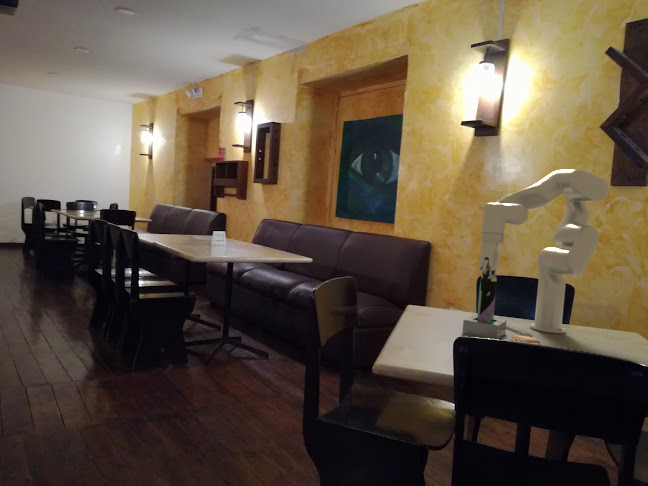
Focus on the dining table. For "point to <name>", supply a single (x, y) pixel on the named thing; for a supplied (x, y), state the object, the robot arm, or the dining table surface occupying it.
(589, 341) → the dining table surface
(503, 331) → the block
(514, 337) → the coaster
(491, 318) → the spray can
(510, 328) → the adjustable wrench
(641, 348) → the dining table surface
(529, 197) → the robot arm
